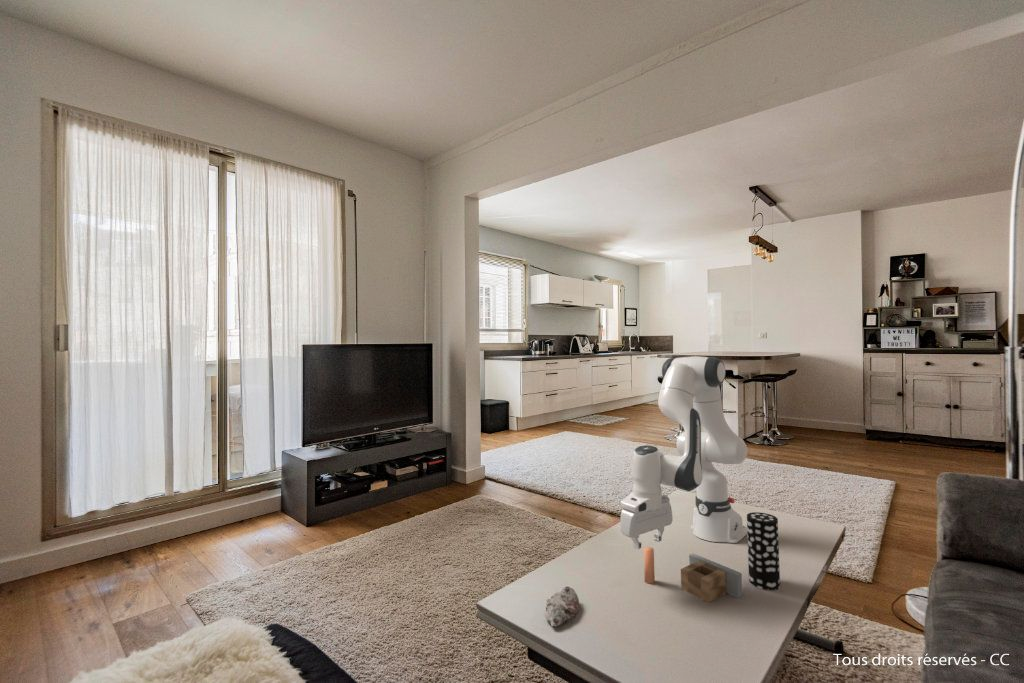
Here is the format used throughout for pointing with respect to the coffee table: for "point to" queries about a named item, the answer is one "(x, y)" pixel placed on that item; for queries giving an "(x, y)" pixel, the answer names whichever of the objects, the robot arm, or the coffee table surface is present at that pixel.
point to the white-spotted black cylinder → (763, 551)
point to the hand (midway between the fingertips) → (647, 544)
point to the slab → (731, 575)
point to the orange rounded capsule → (649, 565)
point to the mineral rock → (562, 606)
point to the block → (703, 581)
